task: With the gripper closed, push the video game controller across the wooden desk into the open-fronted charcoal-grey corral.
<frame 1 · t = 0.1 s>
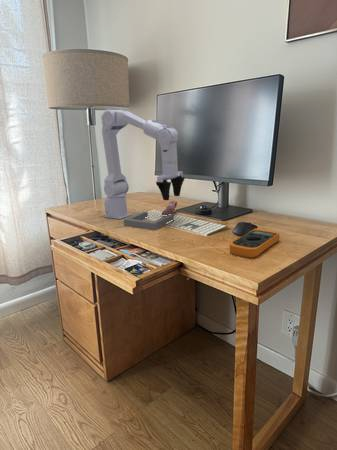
hand: (171, 198, 120), 10 cm above the table, fingers open, 7 cm apart
multimeter: (254, 248, 94), on the table
corral: (152, 221, 126), on the table
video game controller: (170, 214, 137), on the table
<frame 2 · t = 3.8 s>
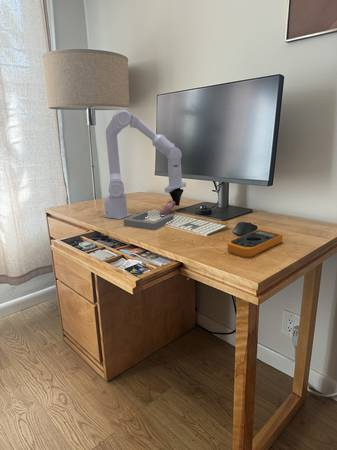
hand: (176, 205, 140), 2 cm above the table, fingers closed
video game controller: (168, 214, 137), on the table, touching gripper
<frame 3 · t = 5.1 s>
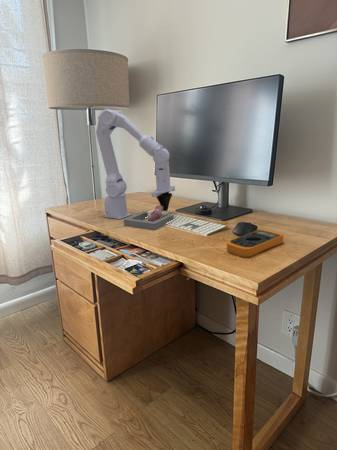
hand: (164, 210, 133), 2 cm above the table, fingers closed
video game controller: (156, 220, 129), on the table, touching gripper
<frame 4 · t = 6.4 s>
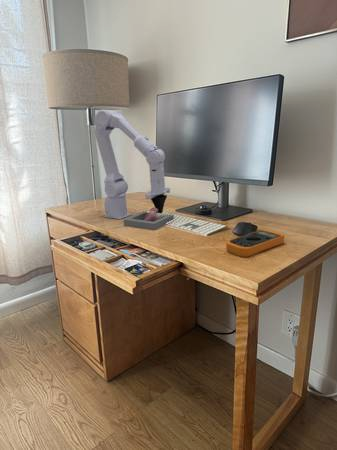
hand: (159, 212, 130), 2 cm above the table, fingers closed
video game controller: (151, 222, 126), on the table, touching gripper
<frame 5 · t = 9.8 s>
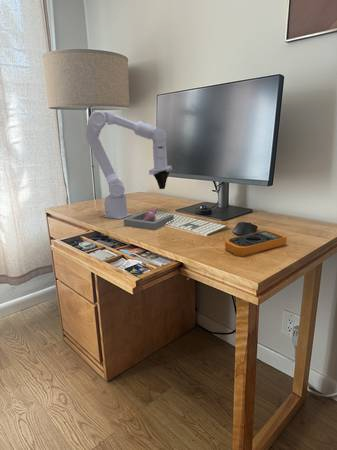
hand: (162, 188, 138), 10 cm above the table, fingers closed
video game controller: (149, 223, 126), on the table
at the end: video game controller inside the target area on the corral (0.5 cm from its centre), point 0.0 cm above the corral's base; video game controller moved 14.5 cm from its start; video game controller tilted 0° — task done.
